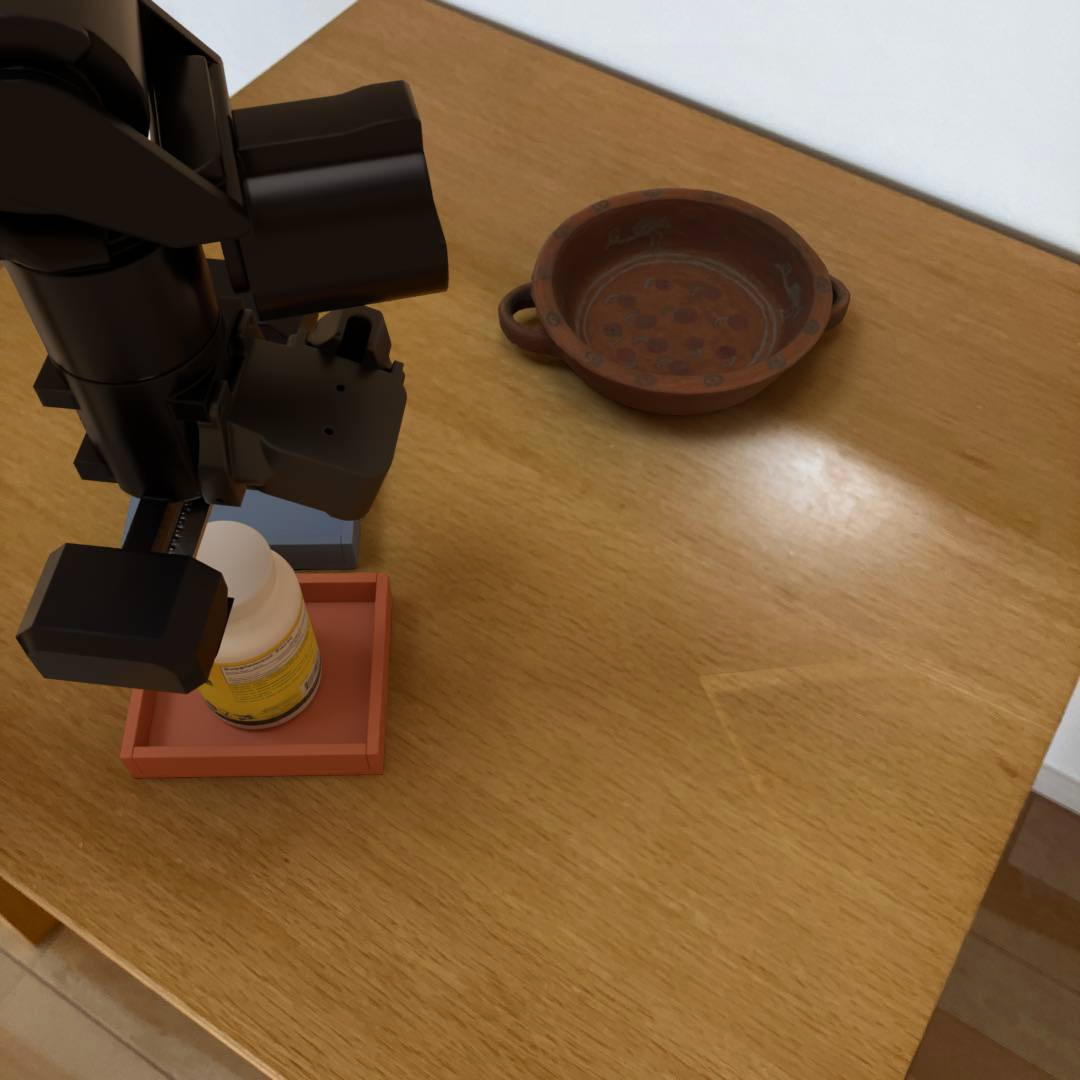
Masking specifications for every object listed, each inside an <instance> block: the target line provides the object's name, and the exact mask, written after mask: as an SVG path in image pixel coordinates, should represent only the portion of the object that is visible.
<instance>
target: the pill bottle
mask: <svg viewBox="0 0 1080 1080" xmlns="http://www.w3.org/2000/svg"><path fill="white" fill-rule="evenodd" d="M171 550H172V549H171ZM196 559H197V560H199V561H201V562H203V563H205V564H206V565H208V566H210V567H212V568H214V569H216V570H218V571H220V572H221V573H222V575H223V577H224V579H225V582H226V584H227V587H228V597H232V598H234V603H233V606H232V609H231V613H230V616H229V619H228V622H227V626H226V629H225V632H224V636H223V639H222V642H221V646H220V649H219V652H218V655H217V657H216V658H215V661H214V665H213V667H212V668H211V672H210V675H209V678H208V682H206V683H205V684H203V685H202V686H200V687H198V690H199V692H200V694H201V696H202V698H203V700H204V701H205V703H206V705H207V706H208V707H209V709H210V710H211V711H212V712H213V713H214V714H215V715H216V716H217V717H218V718H219V719H221V720H223V721H224V722H226V723H228V724H230V725H233V726H235V727H239V728H243V729H265V728H270V727H274V726H277V725H280V724H283V723H285V722H287V721H289V720H291V719H292V718H294V717H295V716H297V715H298V714H299V713H301V712H302V711H303V710H304V709H305V708H306V707H307V706H308V704H309V703H310V702H311V701H312V699H313V697H314V696H315V694H316V692H317V689H318V687H319V684H320V680H321V674H322V663H321V657H320V653H319V649H318V645H317V642H316V638H315V635H314V632H313V629H312V625H311V622H310V619H309V615H308V612H307V609H306V605H305V602H304V598H303V595H302V591H301V588H300V585H299V582H298V579H297V577H296V575H295V574H296V572H295V571H294V569H292V568H291V566H290V565H289V564H288V563H287V561H286V560H285V559H284V558H283V557H281V556H280V555H279V554H277V553H276V552H274V551H273V550H271V549H270V547H269V545H268V543H267V541H266V540H265V538H264V537H263V536H262V535H261V534H260V533H259V532H258V531H256V530H255V529H253V528H252V527H250V526H248V525H245V524H243V523H239V522H235V521H214V522H209V523H207V526H206V529H205V532H204V535H203V538H202V541H201V544H200V547H199V550H198V553H197V556H196Z"/></svg>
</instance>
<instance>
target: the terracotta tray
mask: <svg viewBox="0 0 1080 1080" xmlns="http://www.w3.org/2000/svg"><path fill="white" fill-rule="evenodd" d="M295 575H296V577H297V579H298V582H299V585H300V588H301V591H302V595H303V598H304V602H305V605H306V609H307V612H308V615H309V619H310V622H311V625H312V629H313V632H314V635H315V638H316V642H317V645H318V649H319V653H320V657H321V663H322V674H321V680H320V684H319V687H318V689H317V692H316V694H315V696H314V697H313V699H312V701H311V702H310V703H309V704H308V706H307V707H306V708H305V709H304V710H303V711H302V712H301V713H299V714H298V715H297V716H295V717H294V718H292V719H291V720H289V721H287V722H285V723H283V724H280V725H277V726H274V727H270V728H265V729H243V728H239V727H235V726H233V725H230V724H228V723H226V722H224V721H223V720H221V719H219V718H218V717H217V716H216V715H215V714H214V713H213V712H212V711H211V710H210V709H209V707H208V706H207V705H206V703H205V701H204V700H203V698H202V696H201V694H200V692H199V690H198V688H197V689H195V690H194V691H192V692H190V693H189V694H178V693H169V692H160V691H151V690H143V689H134V688H131V694H130V699H129V704H128V710H127V715H126V721H125V725H124V731H123V736H122V742H121V747H120V753H119V759H120V761H121V762H122V764H123V765H124V767H125V768H126V769H127V771H128V772H129V774H130V775H131V777H132V778H133V779H149V778H150V779H153V778H155V779H156V778H157V779H158V778H217V777H219V778H220V777H270V776H271V777H277V776H279V777H281V776H338V775H342V776H343V775H344V776H345V775H383V774H384V765H385V764H384V762H385V744H386V743H385V742H386V726H387V725H386V723H387V706H388V704H387V703H388V685H389V669H390V651H391V650H390V648H391V631H392V629H391V628H392V612H393V611H392V610H393V593H392V587H391V581H390V576H389V573H388V572H323V573H322V572H320V573H319V572H318V573H317V572H315V573H313V572H312V573H311V572H310V573H308V572H307V573H305V572H303V573H295Z"/></svg>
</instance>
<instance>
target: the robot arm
mask: <svg viewBox="0 0 1080 1080" xmlns="http://www.w3.org/2000/svg"><path fill="white" fill-rule="evenodd" d="M412 91H413V90H412V88H411V85H410V84H409V83H408V82H406V81H405V80H404V79H397V80H391V81H383V82H376V83H370V84H366V85H361V86H359V87H356V88H354V89H350V90H348V91H345V92H342V93H339V94H334V95H327V96H321V97H313V98H306V99H299V100H298V99H297V100H291V101H283V102H278V103H276V102H275V103H270V104H264V105H255V106H248V107H243V108H235V109H233V107H232V102H231V99H230V93H229V88H228V84H227V77H226V72H225V66H224V61H223V58H222V57H221V56H220V55H219V54H218V53H217V52H216V51H215V50H213V49H212V48H211V47H210V46H208V45H207V44H206V43H205V42H204V41H202V39H200V38H199V37H198V36H196V35H195V34H193V32H191V31H190V30H189V29H188V28H187V27H185V26H184V25H183V24H182V23H180V22H179V21H178V20H177V19H175V18H174V17H173V16H172V15H171V14H169V13H168V12H167V11H166V10H164V9H163V8H162V7H161V6H160V5H158V4H157V3H156V2H155V1H154V0H0V261H2V263H3V265H4V267H5V269H6V271H7V273H8V275H9V277H10V279H11V281H12V283H13V285H14V287H15V290H16V291H17V293H18V295H19V298H20V299H21V301H22V303H23V306H24V307H25V309H26V312H27V314H28V316H29V317H30V320H31V322H32V324H33V326H34V329H35V330H36V332H37V334H38V336H39V339H40V340H41V342H42V344H43V346H44V348H45V350H46V353H47V355H46V357H45V360H44V362H43V364H42V365H41V368H40V370H39V372H38V375H37V376H36V378H35V380H34V383H33V385H32V388H33V390H34V392H35V393H36V396H37V397H38V399H39V402H40V403H41V405H42V407H47V408H55V409H56V408H57V409H64V410H65V409H66V410H75V412H76V414H77V416H78V418H79V420H80V422H81V424H82V426H83V428H84V430H85V433H84V437H83V439H82V441H81V443H80V446H79V448H78V450H77V452H76V455H75V457H74V459H73V462H72V464H73V466H74V468H75V470H76V471H77V473H78V475H79V477H80V479H81V480H82V481H89V482H90V481H91V482H99V483H109V484H110V483H111V484H117V485H118V487H119V488H120V490H121V491H123V492H124V493H126V494H127V495H130V497H131V496H133V497H136V498H138V499H140V501H139V504H138V507H137V509H136V512H135V515H134V517H133V520H132V523H131V525H130V528H129V531H128V533H127V536H126V539H125V541H124V544H123V547H111V546H102V545H93V544H91V545H90V544H83V543H76V542H75V543H74V542H65V543H63V544H62V545H60V546H59V547H57V548H56V549H55V550H53V551H52V552H50V553H49V555H48V556H47V559H46V562H45V564H44V566H43V568H42V570H41V574H40V576H39V578H38V581H37V583H36V585H35V588H34V590H33V593H32V595H31V598H30V601H29V602H28V605H27V607H26V610H25V612H24V614H23V617H22V620H21V622H20V624H19V627H18V628H17V631H16V634H15V635H14V638H15V640H16V641H17V643H18V644H19V646H20V647H21V649H22V650H23V653H25V655H26V656H27V658H28V659H29V661H30V662H31V664H32V665H33V666H34V667H35V669H36V670H37V671H38V672H39V675H41V676H42V678H43V679H46V680H56V681H62V682H63V681H64V682H71V683H72V682H74V683H82V684H91V685H97V686H98V685H99V686H108V687H118V688H125V689H132V688H134V689H143V690H151V691H160V692H169V693H178V694H189V693H190V692H192V691H194V690H195V689H197V688H198V687H200V686H202V685H203V684H205V683H206V682H208V678H209V675H210V672H211V668H212V667H213V665H214V661H215V658H216V657H217V655H218V652H219V649H220V646H221V642H222V639H223V636H224V632H225V629H226V626H227V622H228V619H229V616H230V613H231V609H232V606H233V603H234V598H232V597H228V587H227V584H226V582H225V579H224V577H223V575H222V573H221V572H220V571H218V570H216V569H214V568H212V567H210V566H208V565H206V564H205V563H203V562H201V561H199V560H197V559H196V556H197V553H198V550H199V547H200V544H201V541H202V538H203V535H204V532H205V529H206V526H207V523H208V520H209V517H210V514H211V511H212V508H213V505H223V506H232V507H241V505H242V501H243V498H244V495H245V492H246V489H248V490H256V491H260V492H262V493H264V494H267V495H270V496H274V497H277V498H280V499H284V500H287V501H290V502H294V503H297V504H300V505H304V506H307V507H310V508H314V509H317V510H320V511H323V512H326V513H327V514H328V515H329V516H330V517H333V518H336V519H340V520H345V521H354V520H359V519H361V520H362V519H363V518H365V517H366V516H367V515H369V513H370V511H371V509H372V507H373V505H374V503H375V501H376V499H377V497H378V495H379V493H380V490H381V488H382V486H383V485H384V482H385V480H386V478H387V476H388V473H389V471H390V469H391V467H392V464H393V461H394V457H395V453H396V449H397V444H398V440H399V435H400V432H401V428H402V422H403V419H404V415H405V410H406V407H407V400H408V394H407V389H406V387H405V385H404V383H405V380H406V373H405V371H404V366H405V363H404V362H402V361H399V360H393V361H392V360H391V357H390V355H391V354H390V353H391V351H392V340H391V337H390V334H389V331H388V327H387V323H386V321H385V317H384V314H383V312H382V311H381V310H379V309H376V308H373V307H370V305H374V304H381V303H387V302H393V301H398V300H404V299H411V298H416V297H417V298H418V297H421V296H422V297H423V296H428V295H429V296H430V295H434V294H439V293H440V294H441V293H445V292H448V290H449V282H450V272H449V271H450V267H449V254H448V245H447V240H446V236H445V233H444V230H443V226H442V223H441V220H440V216H439V213H438V210H437V206H436V203H435V200H434V194H433V188H432V184H431V178H430V172H429V169H428V162H427V160H426V158H427V157H426V153H425V149H424V138H423V136H424V135H423V126H422V121H421V117H420V114H419V111H418V108H417V104H416V101H415V97H414V95H413V92H412ZM214 243H220V247H221V251H222V255H223V259H221V258H210V257H206V253H205V250H204V248H203V247H204V246H203V245H207V244H214ZM368 305H369V306H368ZM322 313H326V314H324V315H323V316H321V317H320V318H319V316H320V314H322ZM186 504H187V505H186ZM183 513H185V514H183ZM180 522H181V523H180ZM177 531H178V532H177ZM174 540H175V541H174ZM171 549H172V550H171Z"/></svg>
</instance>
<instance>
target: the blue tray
mask: <svg viewBox="0 0 1080 1080" xmlns="http://www.w3.org/2000/svg"><path fill="white" fill-rule="evenodd" d="M139 501H140V499H138V498H136V497H133V496H131V495H130V501H129V505H128V511H127V515H126V519H125V524H124V530H123V535H122V538H121V543H120V548H122V547H123V544H124V541H125V539H126V536H127V533H128V531H129V528H130V525H131V523H132V520H133V517H134V515H135V512H136V509H137V507H138V504H139ZM186 505H187V504H186ZM183 514H185V513H183ZM214 521H235V522H239V523H243V524H245V525H248V526H250V527H252V528H253V529H255V530H256V531H258V532H259V533H260V534H261V535H262V536H263V537H264V538H265V540H266V541H267V543H268V545H269V547H270V549H271V550H273V551H274V552H276V553H277V554H279V555H280V556H281V557H283V558H284V559H285V560H286V561H287V563H288V564H289V565H290V566H291V568H292V569H293V570H322V569H323V570H330V569H331V570H332V569H333V570H335V569H337V570H338V569H339V570H342V569H346V570H347V569H358V564H359V550H360V536H361V525H362V524H361V522H362V518H361V519H359V520H354V521H345V520H340V519H336V518H333V517H330V516H329V515H328V514H327V513H326V512H323V511H320V510H317V509H314V508H310V507H307V506H304V505H300V504H297V503H294V502H290V501H287V500H284V499H280V498H277V497H274V496H270V495H267V494H264V493H262V492H260V491H256V490H248V489H246V492H245V495H244V498H243V501H242V505H241V507H232V506H223V505H213V508H212V511H211V514H210V517H209V520H208V523H209V522H214ZM180 523H181V522H180ZM177 532H178V531H177ZM174 541H175V540H174Z"/></svg>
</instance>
